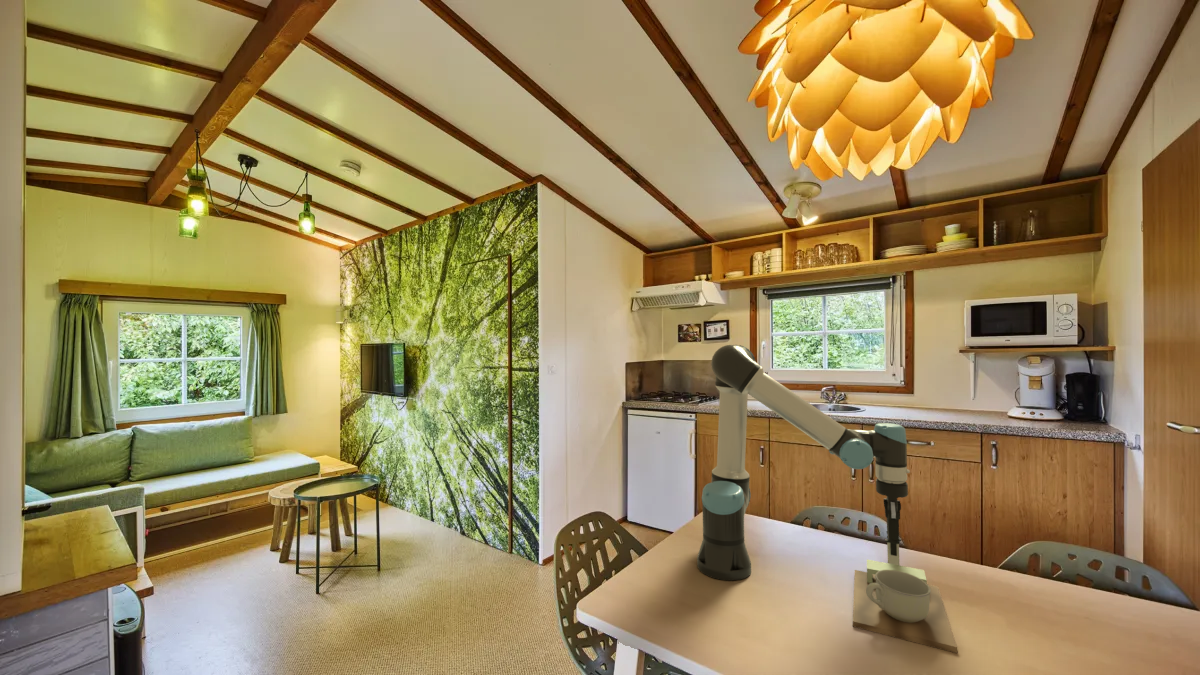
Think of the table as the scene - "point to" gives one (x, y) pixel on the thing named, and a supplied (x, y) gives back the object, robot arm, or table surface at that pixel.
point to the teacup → (900, 595)
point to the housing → (877, 566)
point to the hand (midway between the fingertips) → (893, 565)
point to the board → (924, 632)
